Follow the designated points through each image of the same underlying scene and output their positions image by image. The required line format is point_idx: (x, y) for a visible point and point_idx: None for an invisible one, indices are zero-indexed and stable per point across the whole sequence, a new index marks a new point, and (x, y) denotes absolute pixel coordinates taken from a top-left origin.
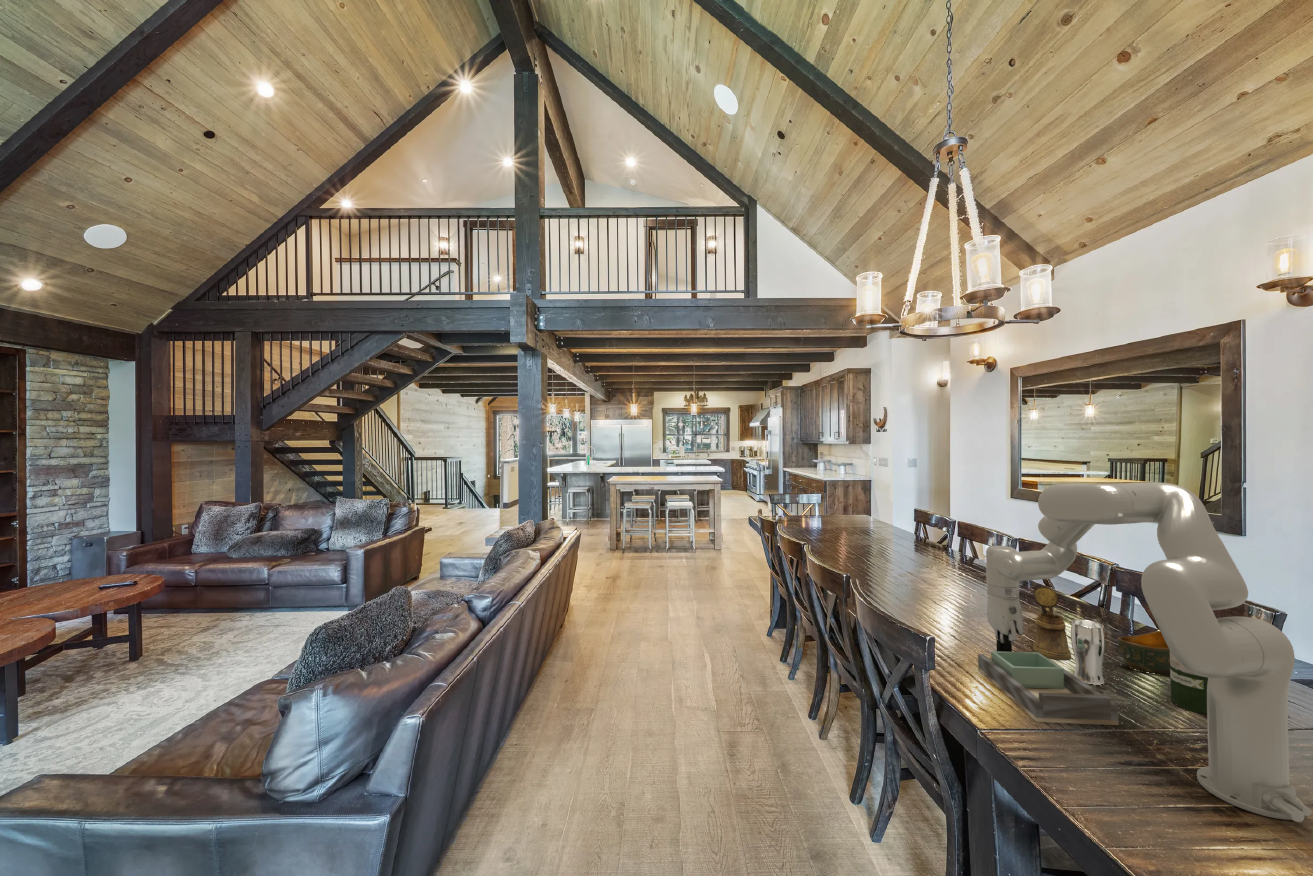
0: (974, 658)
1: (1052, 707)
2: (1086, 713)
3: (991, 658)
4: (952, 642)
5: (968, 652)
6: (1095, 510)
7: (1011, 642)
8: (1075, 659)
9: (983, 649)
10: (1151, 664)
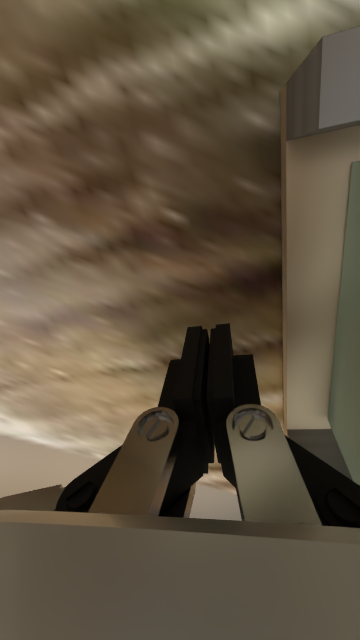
0: (151, 404)
1: None
2: None
3: (352, 475)
4: (4, 419)
5: (89, 403)
6: None
7: (274, 424)
8: None
9: (19, 337)
10: None
